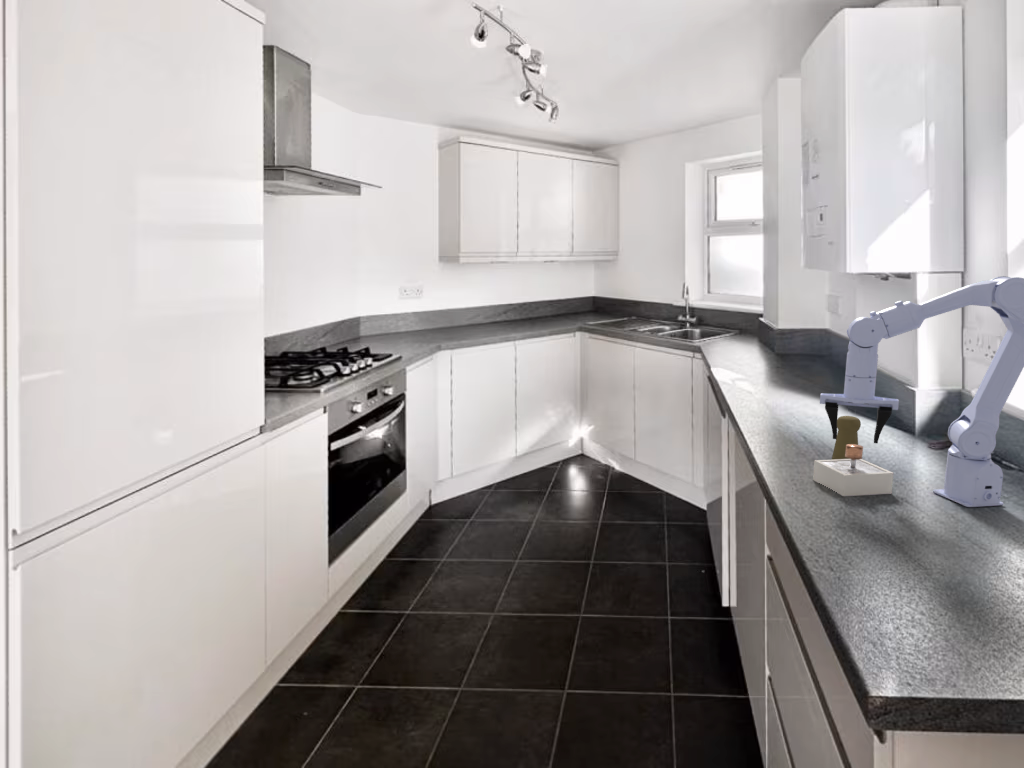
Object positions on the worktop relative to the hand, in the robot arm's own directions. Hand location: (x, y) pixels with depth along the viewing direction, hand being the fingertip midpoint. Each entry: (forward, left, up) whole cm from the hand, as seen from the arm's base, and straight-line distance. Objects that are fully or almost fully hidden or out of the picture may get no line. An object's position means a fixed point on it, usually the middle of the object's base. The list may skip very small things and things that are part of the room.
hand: (854, 440), depth 146 cm
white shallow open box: (0, 0, -10) cm, 10 cm away
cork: (+17, -10, -10) cm, 22 cm away
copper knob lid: (0, 0, -6) cm, 6 cm away
